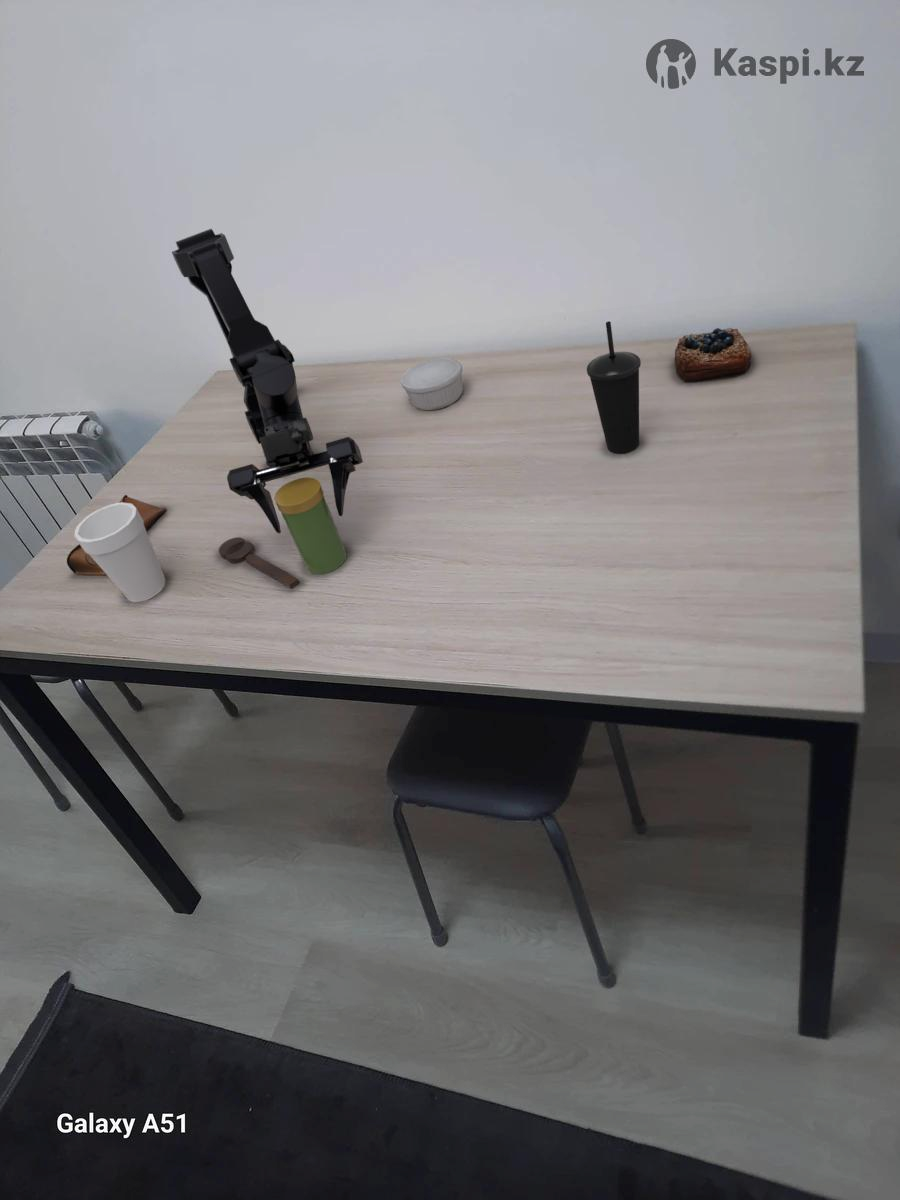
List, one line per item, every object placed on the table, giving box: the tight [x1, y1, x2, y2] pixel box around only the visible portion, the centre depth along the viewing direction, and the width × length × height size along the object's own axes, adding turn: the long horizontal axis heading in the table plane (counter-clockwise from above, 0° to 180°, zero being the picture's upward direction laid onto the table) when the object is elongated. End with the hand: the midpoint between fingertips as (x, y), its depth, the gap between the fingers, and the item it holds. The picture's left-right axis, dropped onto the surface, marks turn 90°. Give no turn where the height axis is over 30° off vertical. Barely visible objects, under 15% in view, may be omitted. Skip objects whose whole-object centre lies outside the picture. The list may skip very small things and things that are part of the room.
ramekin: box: [400, 356, 464, 411], centre depth 155 cm, size 11×11×5 cm
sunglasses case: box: [66, 494, 167, 576], centre depth 144 cm, size 18×7×7 cm, turn 163°
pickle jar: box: [273, 477, 348, 575], centre depth 123 cm, size 7×7×12 cm
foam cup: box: [73, 502, 166, 603], centre depth 129 cm, size 10×9×13 cm
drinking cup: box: [586, 321, 642, 455], centre depth 125 cm, size 8×8×20 cm
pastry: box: [674, 327, 752, 384], centre depth 141 cm, size 11×12×6 cm
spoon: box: [218, 536, 301, 590], centre depth 130 cm, size 19×4×1 cm, turn 45°
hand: (309, 524), depth 122 cm, fingers open, 9 cm apart
